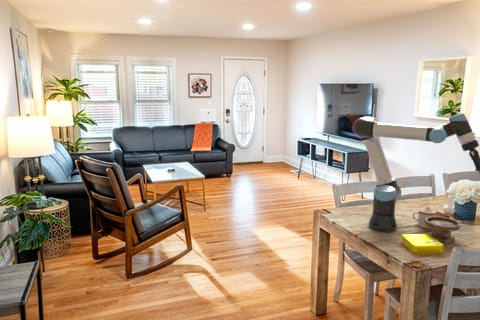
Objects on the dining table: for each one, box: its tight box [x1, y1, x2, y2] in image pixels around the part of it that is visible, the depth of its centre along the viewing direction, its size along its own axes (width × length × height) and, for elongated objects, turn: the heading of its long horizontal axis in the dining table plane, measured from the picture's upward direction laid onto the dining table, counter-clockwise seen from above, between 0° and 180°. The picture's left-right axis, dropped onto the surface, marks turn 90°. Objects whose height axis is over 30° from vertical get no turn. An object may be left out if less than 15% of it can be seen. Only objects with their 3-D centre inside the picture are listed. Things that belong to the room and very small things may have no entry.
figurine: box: [442, 193, 455, 215], centre depth 238 cm, size 7×9×15 cm
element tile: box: [401, 233, 444, 255], centre depth 188 cm, size 15×15×5 cm
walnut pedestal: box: [425, 215, 461, 244], centre depth 198 cm, size 16×16×9 cm
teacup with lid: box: [412, 205, 437, 229], centre depth 216 cm, size 12×9×12 cm
